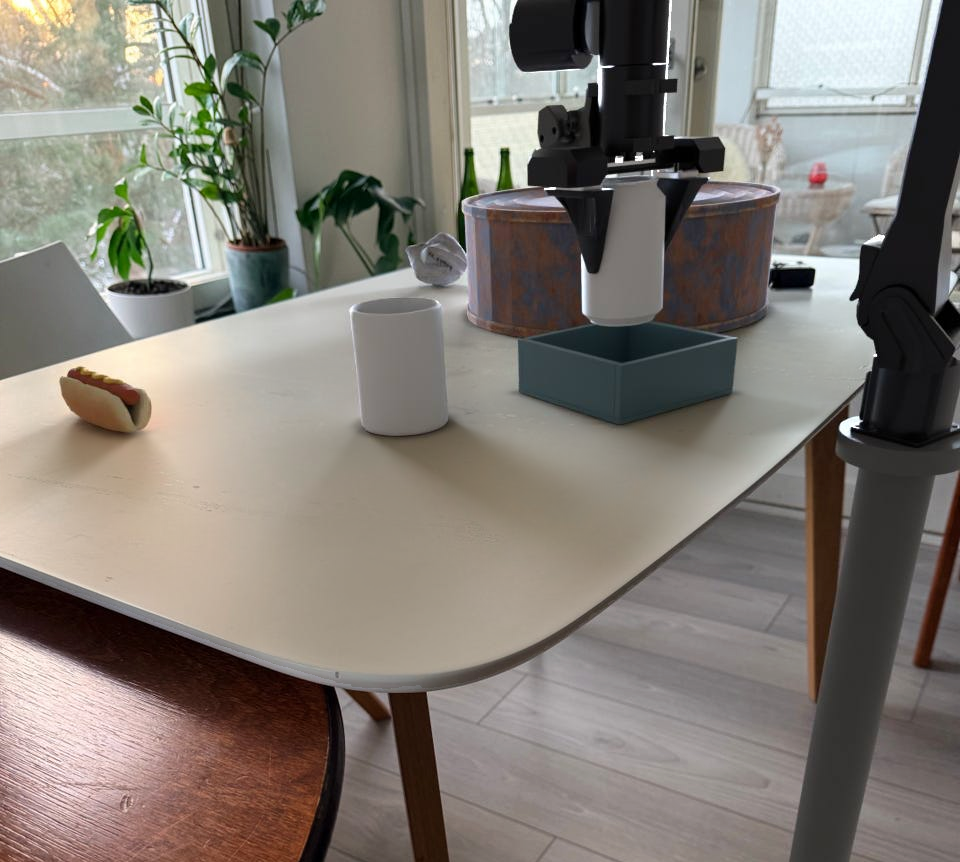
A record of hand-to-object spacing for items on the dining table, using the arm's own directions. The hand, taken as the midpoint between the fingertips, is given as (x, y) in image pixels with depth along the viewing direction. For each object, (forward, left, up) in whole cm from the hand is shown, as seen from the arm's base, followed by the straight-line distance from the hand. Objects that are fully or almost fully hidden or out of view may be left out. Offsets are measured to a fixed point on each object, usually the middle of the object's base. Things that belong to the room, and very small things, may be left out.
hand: (625, 267), depth 83 cm
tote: (+4, -4, -13) cm, 14 cm away
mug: (+12, +17, -13) cm, 25 cm away
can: (0, 0, -5) cm, 5 cm away
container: (+37, -33, -13) cm, 51 cm away
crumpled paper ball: (+75, -27, -13) cm, 81 cm away
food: (+32, +41, -13) cm, 54 cm away
